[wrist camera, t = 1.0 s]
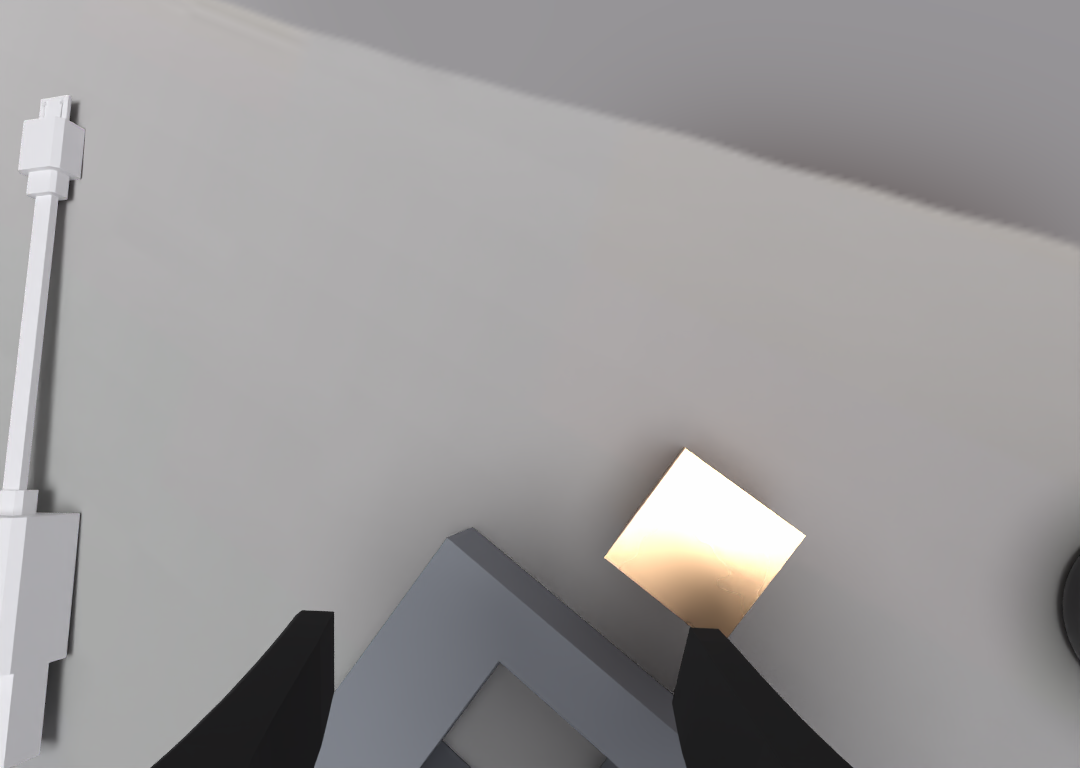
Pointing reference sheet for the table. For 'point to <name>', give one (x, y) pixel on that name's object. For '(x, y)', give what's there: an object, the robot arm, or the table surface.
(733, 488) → the brown wooden block
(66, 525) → the charging cable
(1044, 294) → the table surface
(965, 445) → the table surface
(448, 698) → the board with square hole
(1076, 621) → the supplement bottle
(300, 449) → the table surface
